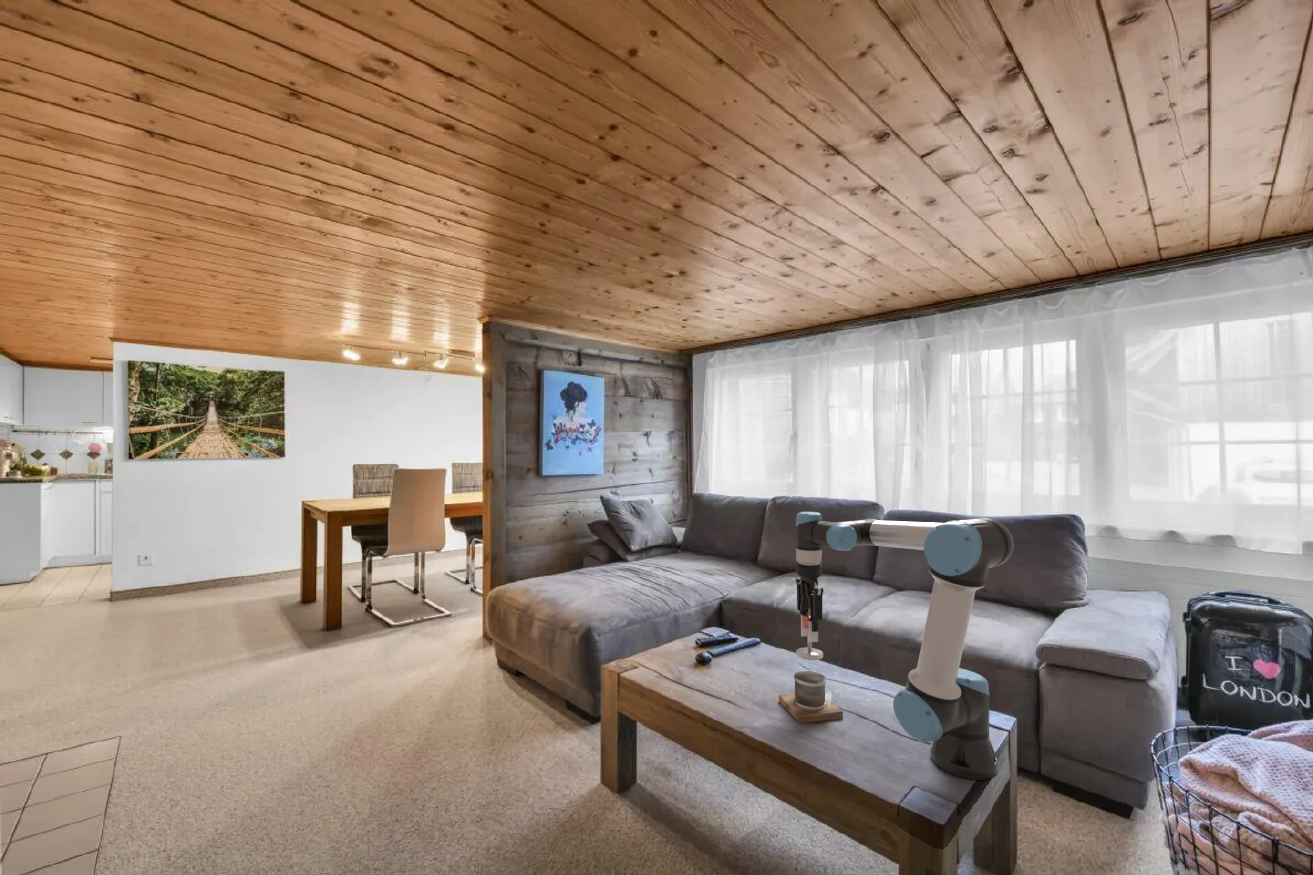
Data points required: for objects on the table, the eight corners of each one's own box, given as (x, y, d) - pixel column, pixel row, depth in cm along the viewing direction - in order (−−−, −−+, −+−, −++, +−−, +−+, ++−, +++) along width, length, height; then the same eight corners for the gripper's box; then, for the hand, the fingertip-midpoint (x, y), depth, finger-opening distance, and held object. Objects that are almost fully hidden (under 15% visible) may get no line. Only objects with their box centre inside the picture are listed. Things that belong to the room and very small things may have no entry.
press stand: (842, 718, 164) (842, 684, 164) (799, 722, 161) (798, 688, 161) (819, 696, 178) (819, 665, 178) (779, 701, 175) (778, 669, 175)
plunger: (828, 658, 167) (827, 619, 167) (803, 660, 165) (803, 621, 165) (815, 649, 174) (815, 611, 175) (791, 651, 173) (791, 613, 173)
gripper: (834, 568, 162) (835, 648, 162) (807, 556, 179) (807, 628, 179) (811, 569, 161) (811, 649, 160) (785, 557, 178) (785, 630, 178)
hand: (809, 638), depth 170 cm, fingers closed on plunger, 4 cm apart
